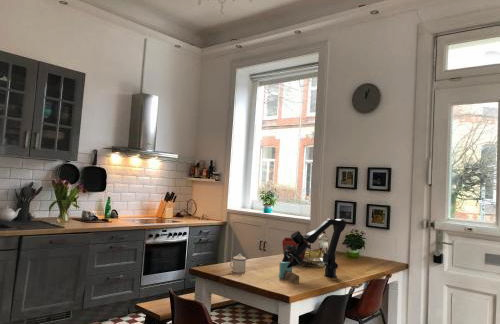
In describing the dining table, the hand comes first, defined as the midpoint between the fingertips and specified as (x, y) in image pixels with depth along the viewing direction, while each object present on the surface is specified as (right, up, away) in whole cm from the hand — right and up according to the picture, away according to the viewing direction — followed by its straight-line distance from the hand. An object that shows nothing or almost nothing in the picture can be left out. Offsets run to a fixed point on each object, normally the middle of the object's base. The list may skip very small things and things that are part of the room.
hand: (284, 266), depth 260 cm
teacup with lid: (-31, -6, +10) cm, 33 cm away
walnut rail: (+3, -8, -5) cm, 10 cm away
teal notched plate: (+1, -8, 0) cm, 8 cm away
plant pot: (+13, -11, +57) cm, 60 cm away
